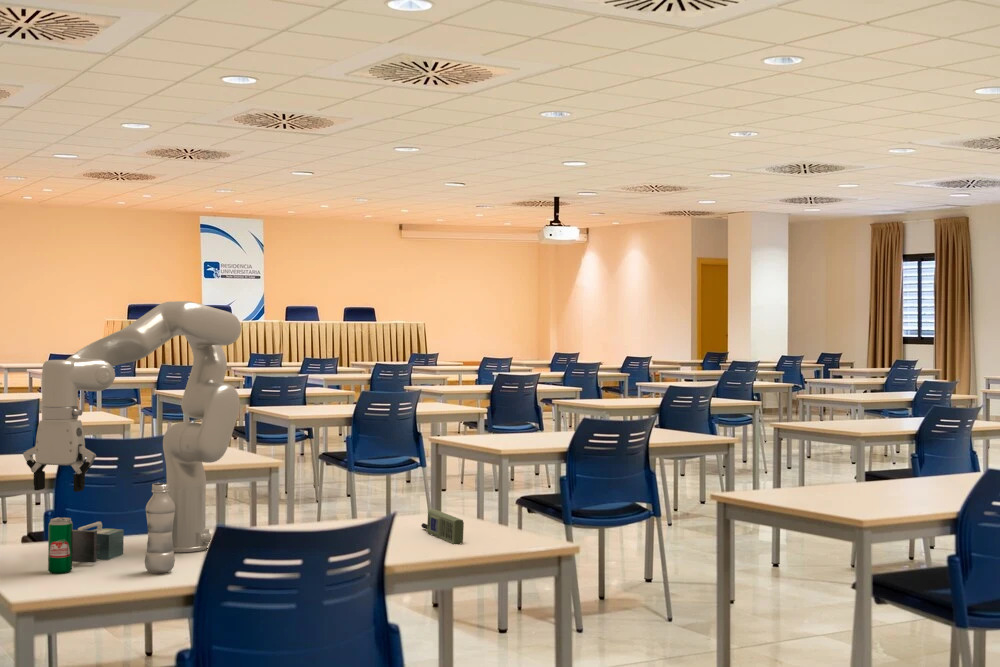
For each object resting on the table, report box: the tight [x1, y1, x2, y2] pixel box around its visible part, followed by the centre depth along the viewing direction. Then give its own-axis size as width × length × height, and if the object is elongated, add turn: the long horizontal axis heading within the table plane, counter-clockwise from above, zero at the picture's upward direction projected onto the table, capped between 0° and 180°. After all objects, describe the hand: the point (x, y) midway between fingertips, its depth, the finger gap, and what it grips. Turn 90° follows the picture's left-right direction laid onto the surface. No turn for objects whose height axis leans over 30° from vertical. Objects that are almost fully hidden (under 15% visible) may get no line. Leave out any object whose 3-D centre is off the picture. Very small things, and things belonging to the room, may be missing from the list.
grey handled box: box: [72, 521, 103, 564], centre depth 263 cm, size 10×8×8 cm
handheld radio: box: [421, 508, 465, 545], centre depth 300 cm, size 7×3×25 cm
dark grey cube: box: [90, 528, 125, 561], centre depth 269 cm, size 7×7×6 cm
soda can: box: [47, 517, 74, 575], centre depth 251 cm, size 5×5×12 cm
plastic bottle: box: [144, 482, 176, 574], centre depth 251 cm, size 6×7×20 cm
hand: (59, 490), depth 251 cm, fingers open, 9 cm apart
